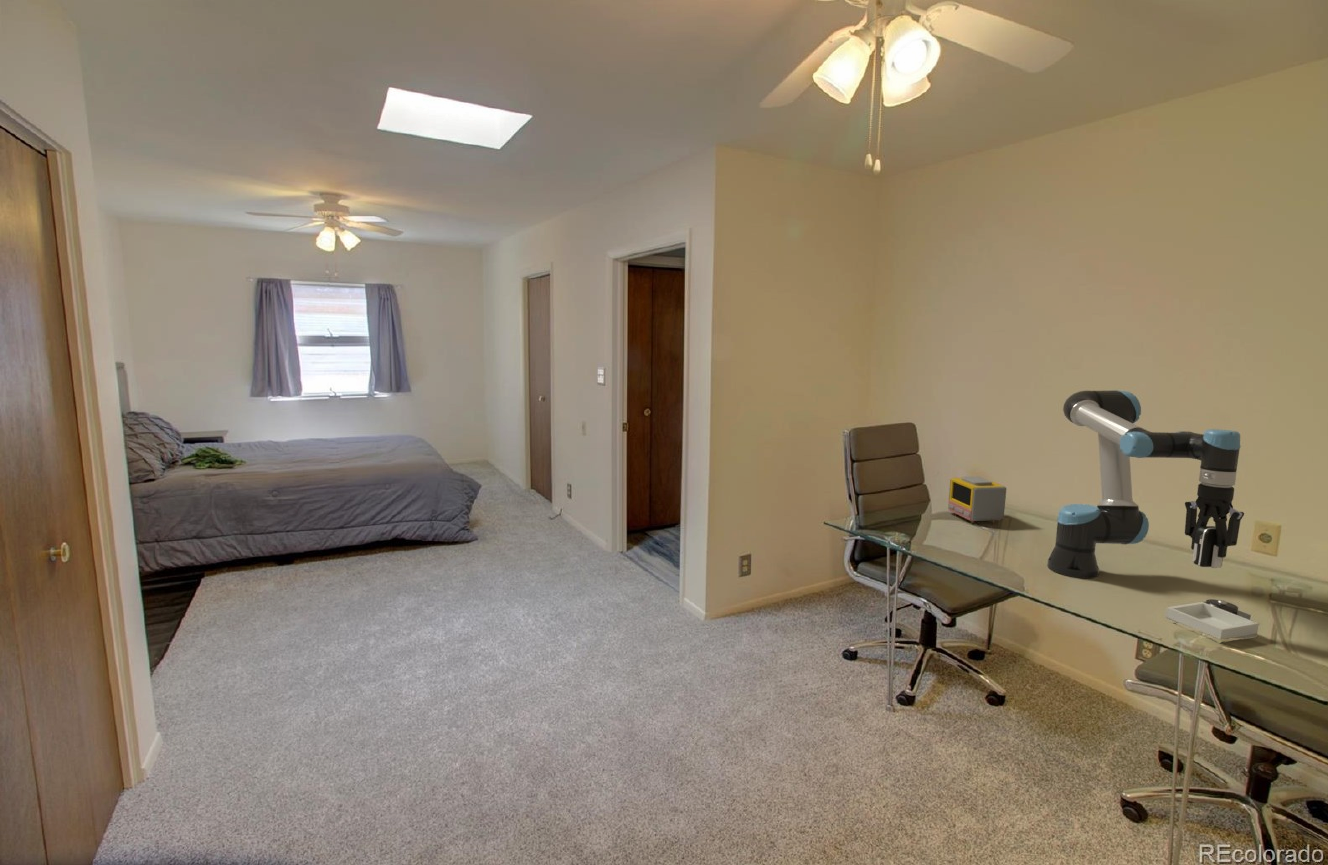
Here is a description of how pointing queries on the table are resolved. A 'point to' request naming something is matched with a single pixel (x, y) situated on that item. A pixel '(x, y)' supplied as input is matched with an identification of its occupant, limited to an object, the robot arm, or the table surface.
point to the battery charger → (1205, 545)
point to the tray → (1212, 621)
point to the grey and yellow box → (977, 499)
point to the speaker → (1227, 607)
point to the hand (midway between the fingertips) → (1206, 564)
